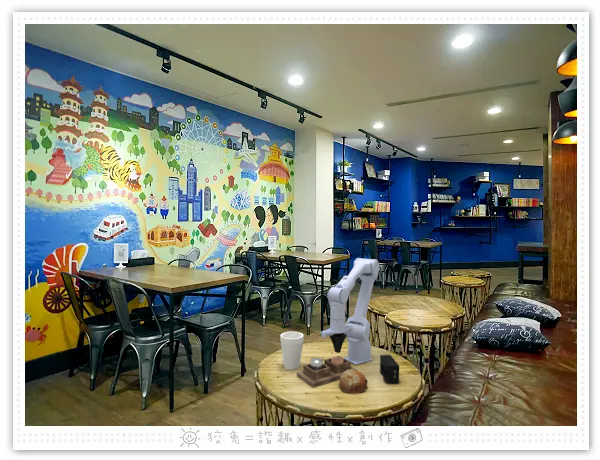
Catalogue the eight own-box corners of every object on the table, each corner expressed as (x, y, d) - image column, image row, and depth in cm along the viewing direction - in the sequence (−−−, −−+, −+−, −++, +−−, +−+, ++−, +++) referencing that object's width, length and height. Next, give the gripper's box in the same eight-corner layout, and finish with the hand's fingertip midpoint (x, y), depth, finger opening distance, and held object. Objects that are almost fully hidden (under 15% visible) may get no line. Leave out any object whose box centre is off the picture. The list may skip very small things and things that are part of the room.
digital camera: (376, 372, 140) (377, 354, 139) (390, 372, 140) (390, 354, 140) (384, 384, 129) (384, 365, 129) (399, 384, 130) (399, 365, 129)
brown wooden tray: (339, 364, 147) (339, 353, 147) (357, 374, 138) (357, 362, 138) (296, 376, 136) (296, 364, 135) (312, 387, 126) (312, 375, 126)
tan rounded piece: (338, 363, 143) (338, 355, 142) (345, 367, 139) (346, 359, 138) (328, 365, 140) (328, 358, 140) (336, 370, 136) (336, 362, 136)
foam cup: (300, 372, 139) (300, 339, 138) (277, 370, 141) (278, 338, 140) (305, 363, 148) (305, 332, 148) (283, 361, 150) (283, 330, 150)
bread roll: (342, 390, 132) (333, 371, 132) (367, 379, 132) (358, 359, 132) (345, 404, 122) (335, 383, 122) (372, 392, 122) (362, 371, 122)
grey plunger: (318, 364, 137) (318, 356, 137) (325, 368, 133) (325, 360, 133) (307, 366, 135) (307, 359, 134) (315, 371, 131) (315, 363, 130)
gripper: (345, 312, 146) (345, 345, 146) (316, 318, 138) (316, 352, 139) (356, 316, 140) (356, 350, 140) (327, 322, 132) (327, 358, 133)
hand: (337, 352), depth 139 cm, fingers closed
